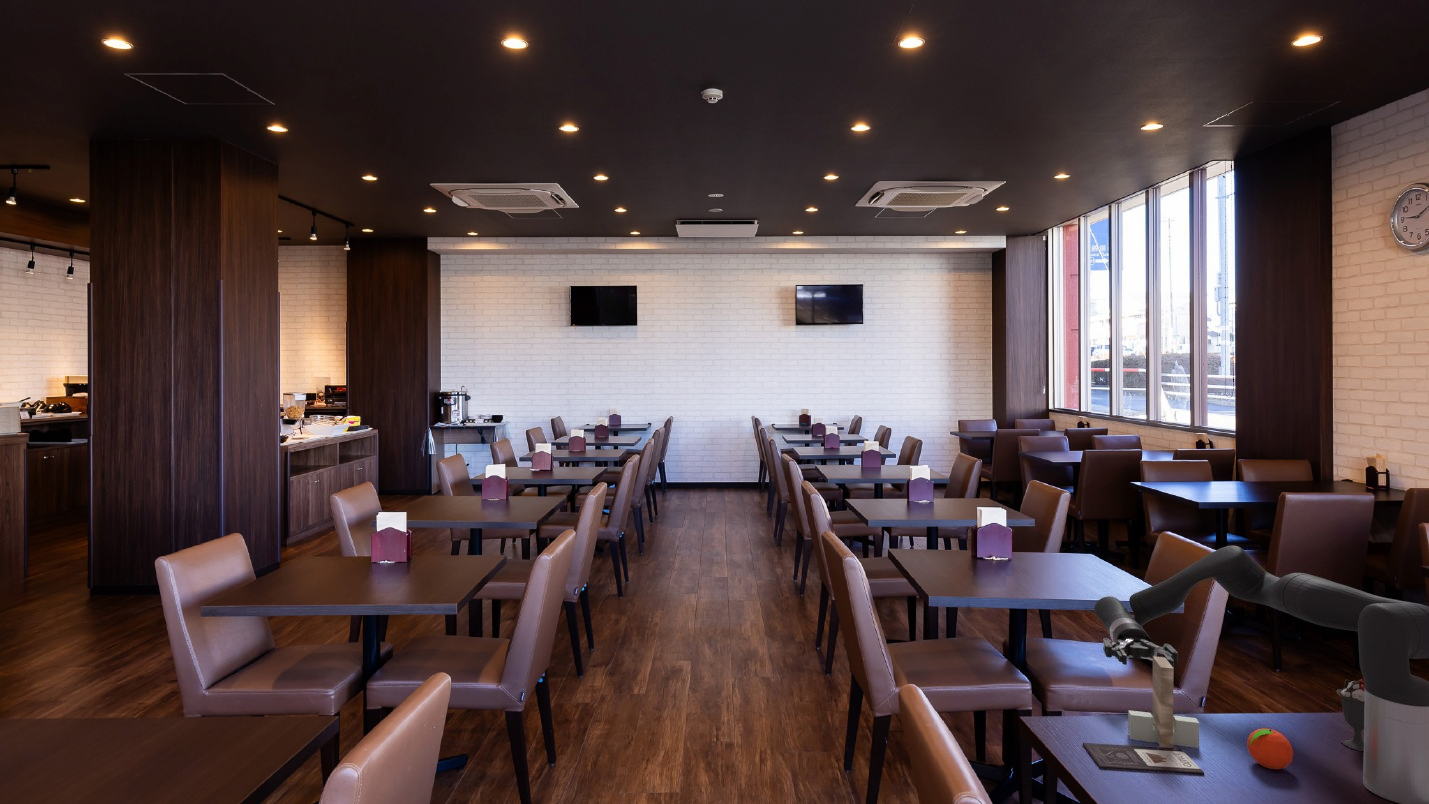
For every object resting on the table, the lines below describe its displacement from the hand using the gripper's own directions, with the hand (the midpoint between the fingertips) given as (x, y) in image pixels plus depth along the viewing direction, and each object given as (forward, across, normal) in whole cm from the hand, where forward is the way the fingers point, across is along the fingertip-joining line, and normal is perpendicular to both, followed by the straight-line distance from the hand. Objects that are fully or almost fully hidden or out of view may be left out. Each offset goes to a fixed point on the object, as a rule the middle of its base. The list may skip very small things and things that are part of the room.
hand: (1146, 662), depth 160 cm
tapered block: (+13, 0, -11) cm, 17 cm away
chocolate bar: (+22, +6, -12) cm, 26 cm away
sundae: (+4, -36, -11) cm, 38 cm away
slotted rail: (+13, 0, -11) cm, 17 cm away
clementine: (+19, -16, -11) cm, 27 cm away
